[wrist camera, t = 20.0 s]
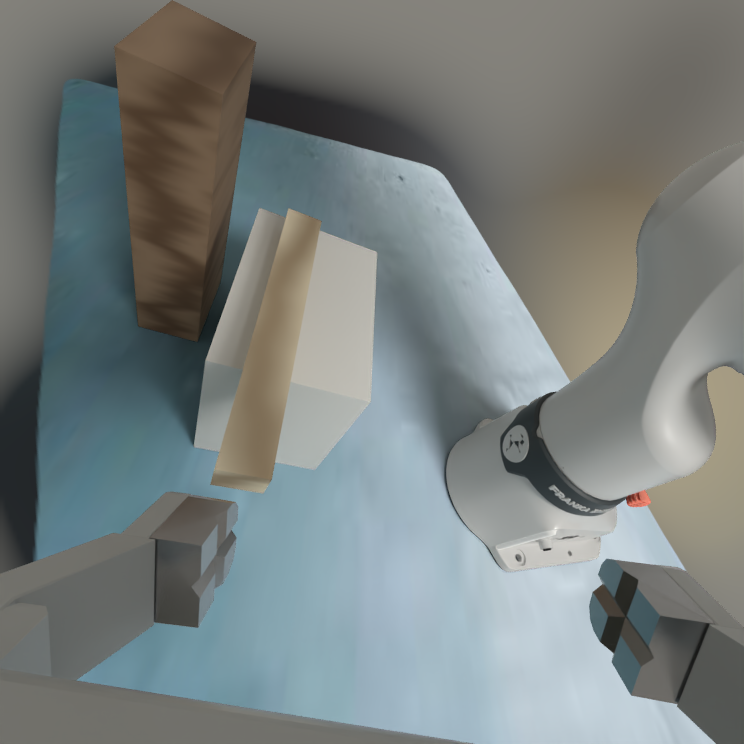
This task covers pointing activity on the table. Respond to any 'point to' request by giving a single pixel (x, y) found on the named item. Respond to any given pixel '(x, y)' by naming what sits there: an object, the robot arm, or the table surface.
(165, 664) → the table surface
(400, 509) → the table surface
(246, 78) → the post
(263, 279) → the white upright block
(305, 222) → the slat
